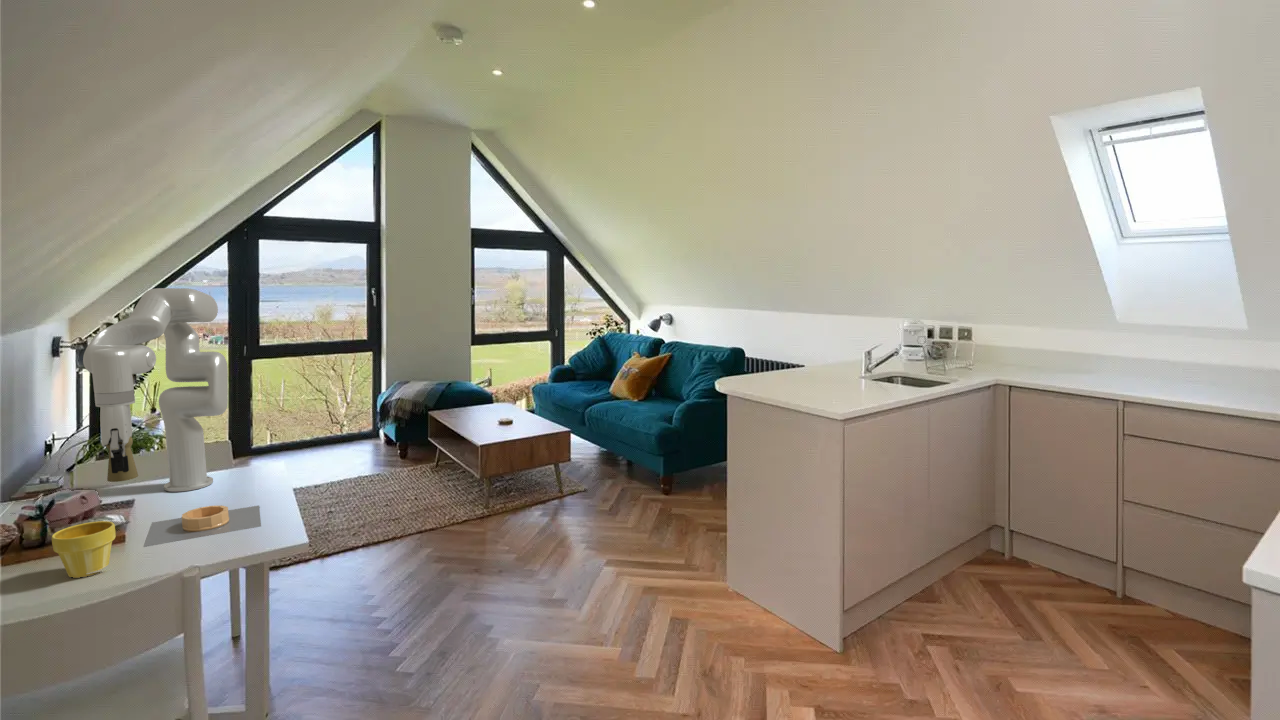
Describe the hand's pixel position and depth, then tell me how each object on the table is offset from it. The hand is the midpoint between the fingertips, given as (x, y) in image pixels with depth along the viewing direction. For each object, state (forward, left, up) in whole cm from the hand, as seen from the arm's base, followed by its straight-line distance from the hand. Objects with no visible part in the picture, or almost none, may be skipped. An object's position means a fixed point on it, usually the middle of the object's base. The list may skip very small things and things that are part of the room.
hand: (122, 469), depth 155 cm
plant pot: (+22, -4, -17) cm, 28 cm away
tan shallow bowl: (+6, +17, -16) cm, 24 cm away
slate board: (+6, +17, -17) cm, 25 cm away
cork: (0, 0, -2) cm, 2 cm away
